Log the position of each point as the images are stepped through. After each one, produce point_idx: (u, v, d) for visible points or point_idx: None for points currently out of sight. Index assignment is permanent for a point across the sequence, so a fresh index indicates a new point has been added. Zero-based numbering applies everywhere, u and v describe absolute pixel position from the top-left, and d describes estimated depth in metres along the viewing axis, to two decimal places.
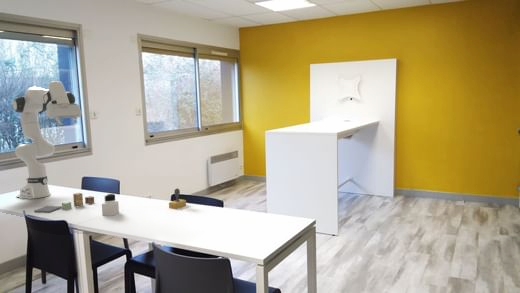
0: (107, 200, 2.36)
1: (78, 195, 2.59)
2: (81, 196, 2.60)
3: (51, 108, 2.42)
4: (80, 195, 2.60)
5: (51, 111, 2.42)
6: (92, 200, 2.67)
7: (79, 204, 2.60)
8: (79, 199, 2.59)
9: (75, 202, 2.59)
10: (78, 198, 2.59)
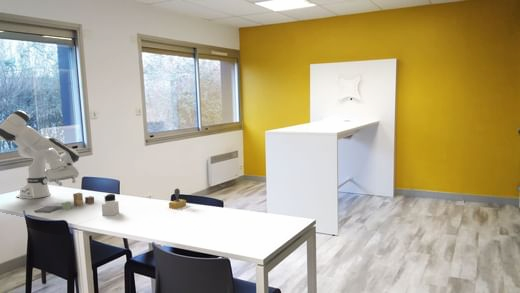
0: (107, 200, 2.36)
1: (78, 195, 2.59)
2: (81, 196, 2.60)
3: None
4: (80, 195, 2.60)
5: None
6: (92, 200, 2.67)
7: (79, 204, 2.60)
8: (79, 199, 2.59)
9: (75, 202, 2.59)
10: (78, 198, 2.59)
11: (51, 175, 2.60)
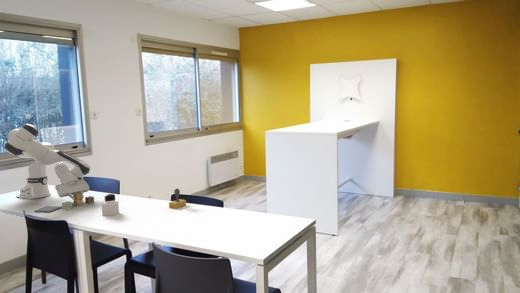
0: (107, 200, 2.36)
1: (78, 195, 2.59)
2: (81, 196, 2.60)
3: None
4: (80, 195, 2.60)
5: None
6: (92, 200, 2.67)
7: (79, 204, 2.60)
8: (79, 199, 2.59)
9: (75, 202, 2.59)
10: (78, 198, 2.59)
11: (61, 190, 2.55)
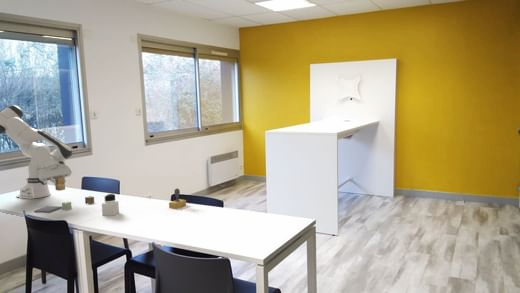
0: (107, 200, 2.36)
1: (60, 179, 2.52)
2: (63, 180, 2.54)
3: None
4: (62, 179, 2.53)
5: None
6: (92, 200, 2.67)
7: (61, 188, 2.53)
8: (61, 183, 2.53)
9: (57, 186, 2.53)
10: (60, 182, 2.52)
11: (42, 174, 2.48)
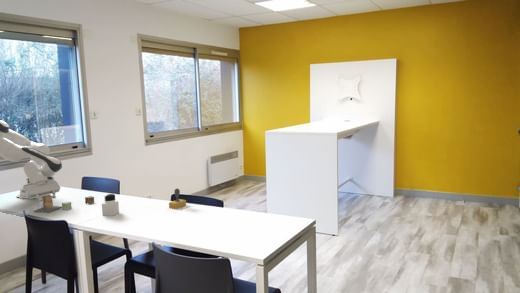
0: (107, 200, 2.36)
1: (47, 198, 2.49)
2: (51, 199, 2.51)
3: None
4: (49, 198, 2.50)
5: None
6: (92, 200, 2.67)
7: (48, 207, 2.50)
8: (48, 202, 2.50)
9: (45, 205, 2.49)
10: (47, 201, 2.49)
11: (29, 191, 2.45)
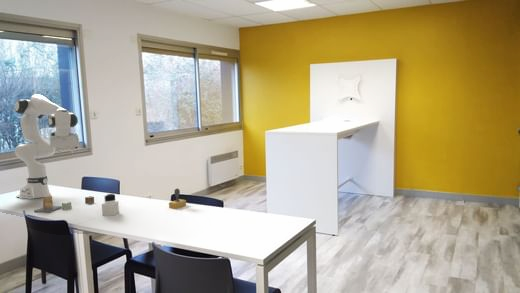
0: (107, 200, 2.36)
1: (47, 198, 2.49)
2: (51, 199, 2.51)
3: (51, 139, 2.66)
4: (49, 198, 2.50)
5: (51, 142, 2.67)
6: (92, 200, 2.67)
7: (48, 207, 2.50)
8: (48, 202, 2.50)
9: (45, 205, 2.49)
10: (47, 201, 2.49)
11: None
